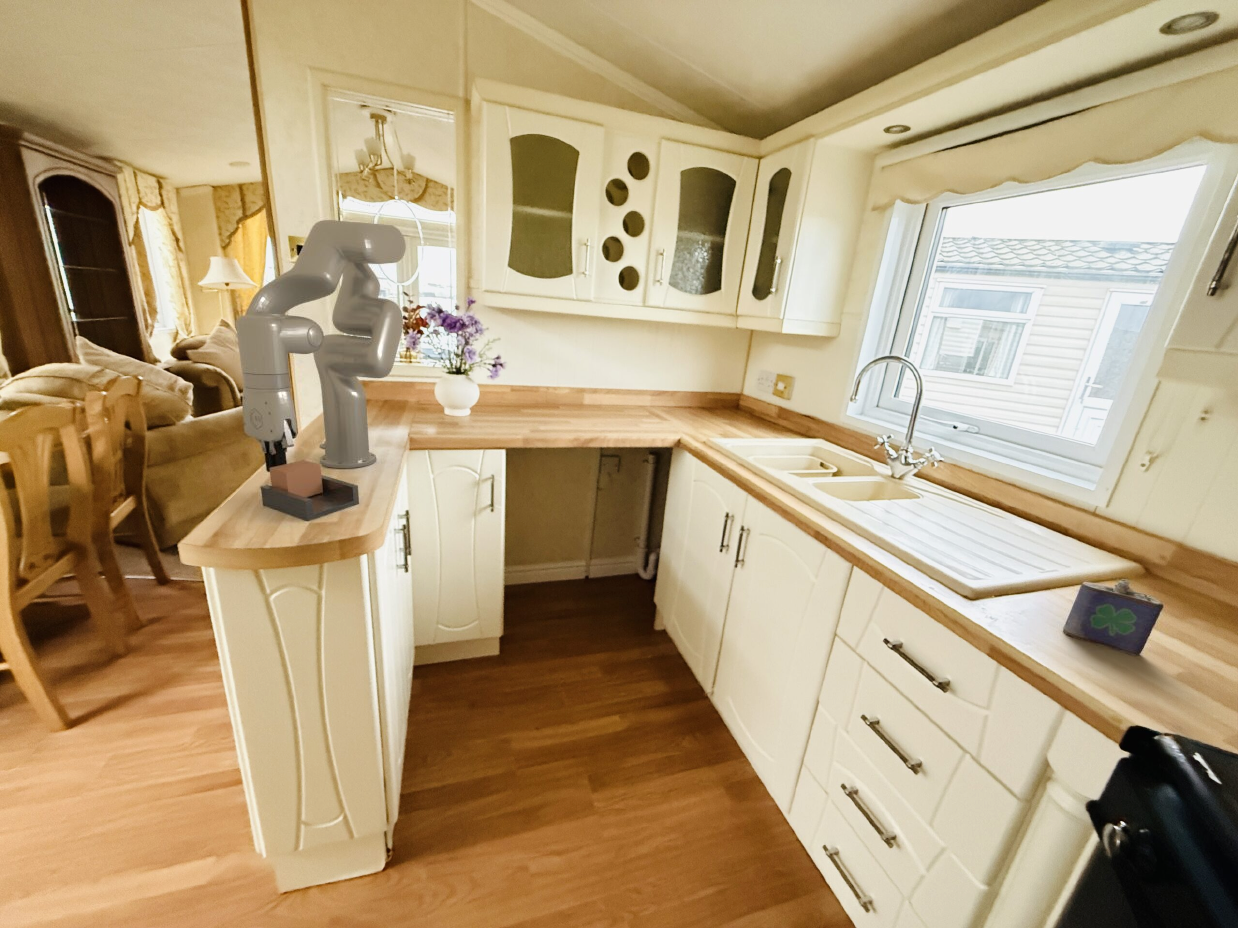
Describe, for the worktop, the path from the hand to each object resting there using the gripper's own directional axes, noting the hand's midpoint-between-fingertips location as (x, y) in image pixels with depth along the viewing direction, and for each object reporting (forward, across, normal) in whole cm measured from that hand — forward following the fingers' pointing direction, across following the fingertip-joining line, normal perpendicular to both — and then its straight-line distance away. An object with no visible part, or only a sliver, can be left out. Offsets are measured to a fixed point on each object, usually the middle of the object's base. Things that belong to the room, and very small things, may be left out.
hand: (277, 470), depth 101 cm
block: (+4, +6, 0) cm, 7 cm away
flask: (+6, +146, +32) cm, 150 cm away
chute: (+5, +10, 0) cm, 11 cm away
